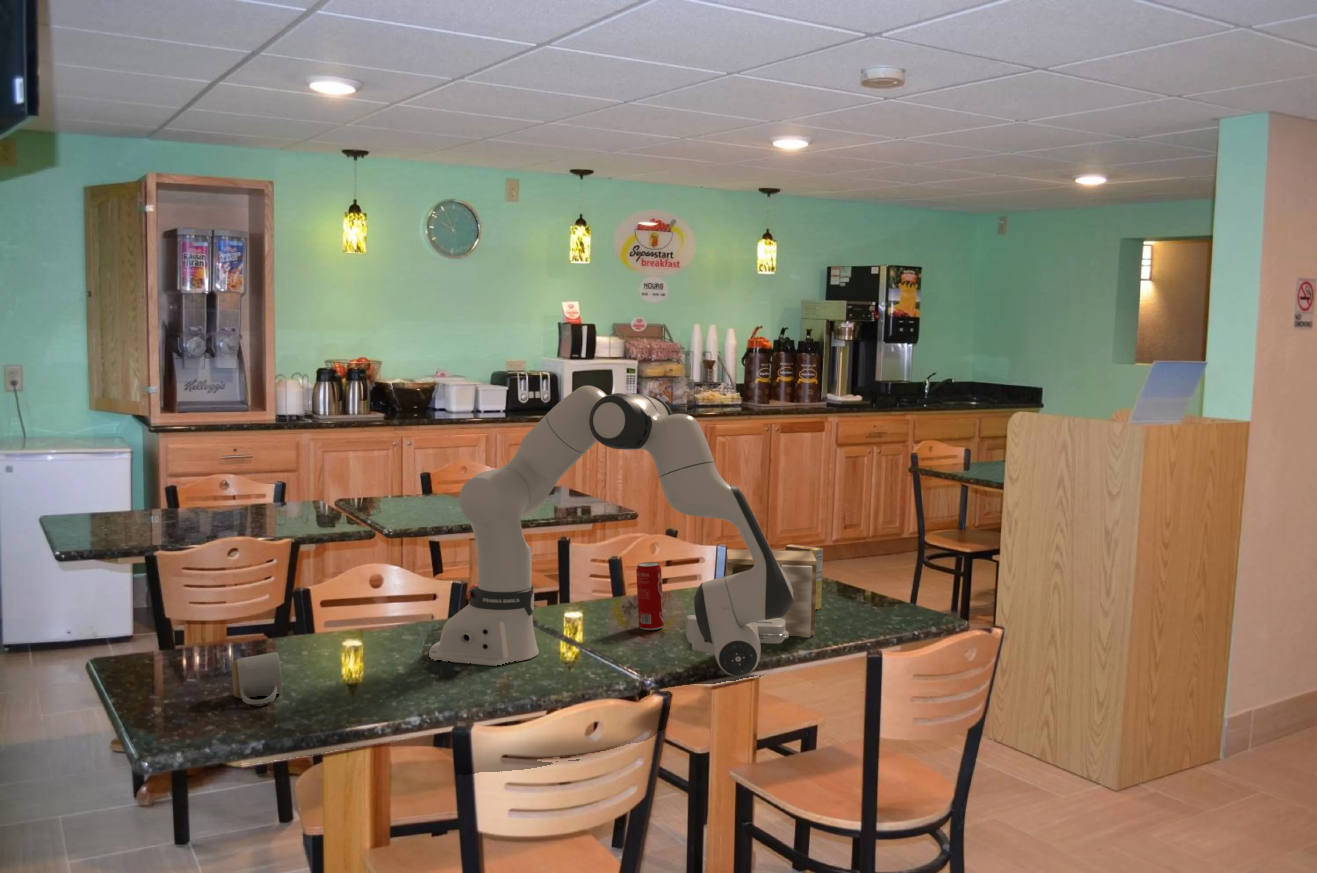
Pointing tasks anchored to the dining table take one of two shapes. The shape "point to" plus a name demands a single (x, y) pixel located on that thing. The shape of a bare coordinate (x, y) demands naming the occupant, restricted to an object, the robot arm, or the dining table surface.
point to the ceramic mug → (257, 677)
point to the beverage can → (650, 596)
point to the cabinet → (802, 581)
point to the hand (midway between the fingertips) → (735, 619)
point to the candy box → (819, 558)
